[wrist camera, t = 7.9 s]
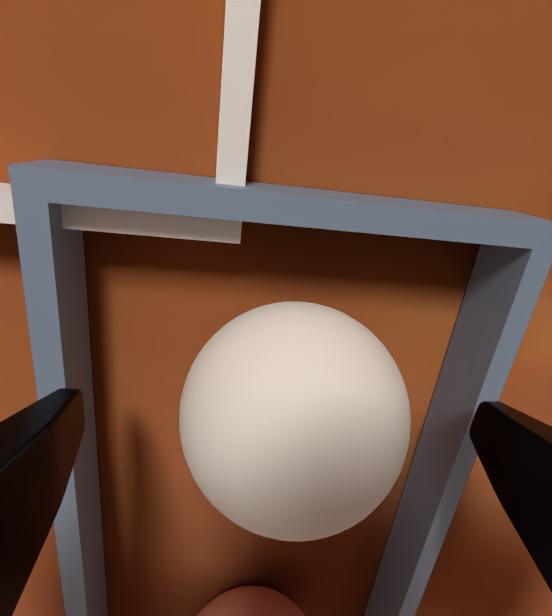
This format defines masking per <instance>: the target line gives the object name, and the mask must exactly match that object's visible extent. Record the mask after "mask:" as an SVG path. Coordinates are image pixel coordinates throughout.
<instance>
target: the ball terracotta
mask: <svg viewBox="0 0 552 616" xmlns="http://www.w3.org/2000/svg"><path fill="white" fill-rule="evenodd" d="M196 616H305V614H304V613H303V612H302V611H301V609H300V608H299V607H298V606H297V605H296V604H295V603H294V602H293V601H291V600H290V599H289V598H287V597H286V596H285V595H283V594H281V593H280V592H277V591H275V590H273V589H270V588H267V587H262V586H242V587H237V588H234V589H231V590H228V591H226V592H224V593H222V594H220V595H218V596H217V597H216V598H214V599H213V600H211V601H210V602H209V603H208V604H207V605H206V606H205V607H204V608H203V609H202V610H201V611H200V612H199V613H198V614H197V615H196Z"/></svg>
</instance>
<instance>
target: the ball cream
mask: <svg viewBox="0 0 552 616" xmlns="http://www.w3.org/2000/svg"><path fill="white" fill-rule="evenodd" d="M410 429H411V414H410V405H409V398H408V394H407V390H406V387H405V384H404V381H403V378H402V376H401V373H400V371H399V369H398V367H397V365H396V363H395V361H394V360H393V358H392V357H391V355H390V354H389V352H388V350H387V349H386V347H385V346H384V345H383V344H382V343H381V342H380V341H379V340H378V339H377V337H376V336H375V335H374V334H373V333H372V332H371V331H370V330H368V329H367V328H366V327H365V326H363V325H362V324H361V323H359V322H358V321H356V320H355V319H353V318H351V317H349V316H348V315H346V314H344V313H343V312H340V311H338V310H335V309H333V308H330V307H326V306H323V305H319V304H315V303H308V302H289V301H287V302H279V303H272V304H268V305H264V306H260V307H257V308H255V309H252V310H249V311H247V312H245V313H243V314H241V315H239V316H237V317H236V318H234V319H233V320H231V321H230V322H228V323H227V324H226V325H224V326H223V327H222V328H221V329H220V330H219V331H218V332H217V333H215V334H214V335H213V336H212V337H211V338H210V339H209V341H208V342H207V343H206V344H205V345H204V346H203V348H202V349H201V351H200V352H199V354H198V356H197V357H196V359H195V361H194V362H193V364H192V366H191V368H190V371H189V373H188V375H187V378H186V381H185V385H184V388H183V392H182V396H181V402H180V410H179V430H180V438H181V444H182V448H183V453H184V456H185V459H186V462H187V464H188V467H189V469H190V472H191V474H192V477H193V478H194V480H195V481H196V483H197V485H198V486H199V488H200V489H201V491H202V492H203V494H204V495H205V497H206V498H207V499H208V500H209V501H210V502H211V504H212V505H213V506H214V507H215V508H216V509H217V510H218V511H220V512H221V513H222V514H223V515H224V516H225V517H226V518H228V519H229V520H231V521H232V522H234V523H236V524H237V525H239V526H241V527H242V528H244V529H246V530H248V531H250V532H252V533H255V534H258V535H260V536H263V537H268V538H272V539H276V540H282V541H298V542H300V541H311V540H317V539H322V538H326V537H329V536H332V535H335V534H338V533H340V532H342V531H345V530H347V529H349V528H351V527H352V526H354V525H356V524H357V523H359V522H360V521H362V520H363V519H364V518H366V517H367V516H368V515H369V514H370V513H371V512H372V511H373V510H375V509H376V508H377V507H378V506H379V504H380V503H381V502H382V501H383V500H384V499H385V498H386V496H387V495H388V494H389V492H390V491H391V489H392V487H393V485H394V484H395V482H396V480H397V478H398V476H399V475H400V473H401V470H402V468H403V465H404V462H405V459H406V455H407V451H408V447H409V442H410Z"/></svg>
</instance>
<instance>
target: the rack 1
mask: <svg viewBox="0 0 552 616" xmlns="http://www.w3.org/2000/svg"><path fill="white" fill-rule="evenodd" d="M260 4H261V0H226V11H225V28H224V45H223V63H222V80H221V97H220V115H219V132H218V149H217V167H216V183H217V184H226V185H235V186H245V181H246V170H247V158H248V146H249V134H250V122H251V111H252V99H253V87H254V75H255V63H256V51H257V40H258V28H259V16H260ZM61 215H62V227H63V228H64V229H75V230H87V231H98V232H110V233H121V234H133V235H144V236H156V237H167V238H179V239H190V240H202V241H213V242H225V243H236V244H240V241H241V229H242V221H234V220H224V219H213V218H203V217H192V216H182V215H171V214H161V213H151V212H140V211H130V210H119V209H109V208H98V207H88V206H77V205H67V204H61ZM0 223H6V224H15V217H14V209H13V201H12V193H11V185H10V184H8V183H0Z"/></svg>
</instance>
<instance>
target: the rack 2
mask: <svg viewBox="0 0 552 616" xmlns="http://www.w3.org/2000/svg"><path fill="white" fill-rule="evenodd" d="M8 170H9V177H10V185H11V193H12V201H13V209H14V217H15V224H16V232H17V240H18V248H19V256H20V264H21V271H22V279H23V287H24V295H25V303H26V310H27V318H28V326H29V334H30V342H31V350H32V357H33V365H34V373H35V381H36V389H37V397H38V400H40V399H42V398H43V397H45V396H47V395H49V394H50V393H52V392H54V391H56V390H58V389H60V388H72V389H80V390H81V391H82V393H83V400H84V412H85V429H84V434H83V437H82V440H81V444H80V447H79V450H78V453H77V456H76V460H75V463H74V466H73V469H72V472H71V476H70V479H69V482H68V485H67V488H66V491H65V494H64V497H63V500H62V503H61V506H60V508H59V510H58V513H57V515H56V518H55V520H54V530H55V538H56V545H57V553H58V561H59V569H60V577H61V585H62V592H63V600H64V608H65V616H108V611H107V596H106V580H105V565H104V550H103V534H102V519H101V503H100V488H99V473H98V457H97V442H96V426H95V411H94V396H93V380H92V365H91V350H90V334H89V319H88V303H87V288H86V273H85V257H84V242H83V230H75V229H64V228H63V227H62V215H61V204H67V205H77V206H88V207H98V208H109V209H119V210H130V211H140V212H151V213H161V214H171V215H182V216H192V217H203V218H213V219H224V220H234V221H245V222H255V223H266V224H276V225H286V226H297V227H307V228H318V229H328V230H339V231H349V232H360V233H370V234H381V235H391V236H402V237H412V238H422V239H433V240H443V241H454V242H464V243H475V244H481V245H480V248H479V251H478V254H477V257H476V261H475V264H474V267H473V270H472V273H471V277H470V280H469V283H468V286H467V289H466V292H465V296H464V299H463V302H462V305H461V308H460V311H459V315H458V318H457V321H456V324H455V327H454V331H453V334H452V337H451V340H450V343H449V346H448V350H447V353H446V356H445V359H444V362H443V366H442V369H441V372H440V375H439V378H438V381H437V385H436V388H435V391H434V394H433V397H432V401H431V404H430V407H429V410H428V413H427V416H426V420H425V423H424V426H423V429H422V432H421V436H420V439H419V442H418V445H417V448H416V451H415V455H414V458H413V461H412V464H411V467H410V471H409V474H408V477H407V480H406V483H405V486H404V490H403V493H402V496H401V499H400V502H399V506H398V509H397V512H396V515H395V518H394V521H393V525H392V528H391V531H390V534H389V537H388V540H387V544H386V547H385V550H384V553H383V556H382V560H381V563H380V566H379V569H378V572H377V575H376V579H375V582H374V585H373V588H372V591H371V595H370V598H369V601H368V604H367V607H366V610H365V614H364V616H415V613H416V611H417V608H418V606H419V603H420V601H421V598H422V595H423V593H424V590H425V588H426V585H427V583H428V580H429V577H430V575H431V572H432V570H433V567H434V565H435V562H436V559H437V557H438V554H439V552H440V549H441V547H442V544H443V542H444V539H445V536H446V534H447V531H448V529H449V526H450V524H451V521H452V518H453V516H454V513H455V511H456V508H457V506H458V503H459V500H460V498H461V495H462V493H463V490H464V488H465V485H466V482H467V480H468V477H469V475H470V472H471V470H472V467H473V465H474V462H475V459H476V457H477V452H476V450H475V448H474V446H473V443H472V441H471V439H470V434H469V430H470V426H471V423H472V421H473V418H474V415H475V413H476V410H477V407H478V405H479V404H480V403H481V402H483V401H498V400H499V398H500V395H501V393H502V390H503V388H504V385H505V382H506V380H507V377H508V375H509V372H510V370H511V367H512V364H513V362H514V359H515V357H516V354H517V352H518V349H519V346H520V344H521V341H522V339H523V336H524V334H525V331H526V328H527V326H528V323H529V321H530V318H531V316H532V313H533V311H534V308H535V305H536V303H537V300H538V298H539V295H540V293H541V290H542V287H543V285H544V282H545V280H546V277H547V275H548V272H549V269H550V267H551V264H552V221H551V220H547V219H543V218H539V217H535V216H532V215H528V214H524V213H520V212H516V211H511V210H502V209H493V208H484V207H475V206H466V205H457V204H448V203H439V202H430V201H420V200H411V199H402V198H393V197H384V196H375V195H366V194H357V193H348V192H339V191H330V190H321V189H312V188H303V187H294V186H285V185H276V184H267V183H258V182H249V181H245V186H235V185H226V184H217V183H216V178H213V177H204V176H195V175H186V174H177V173H168V172H159V171H150V170H141V169H132V168H123V167H114V166H105V165H96V164H87V163H78V162H69V161H60V160H51V159H47V160H39V161H31V162H23V163H15V164H8Z"/></svg>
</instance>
